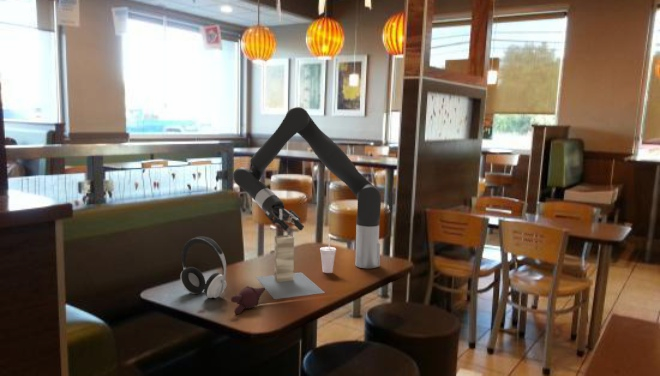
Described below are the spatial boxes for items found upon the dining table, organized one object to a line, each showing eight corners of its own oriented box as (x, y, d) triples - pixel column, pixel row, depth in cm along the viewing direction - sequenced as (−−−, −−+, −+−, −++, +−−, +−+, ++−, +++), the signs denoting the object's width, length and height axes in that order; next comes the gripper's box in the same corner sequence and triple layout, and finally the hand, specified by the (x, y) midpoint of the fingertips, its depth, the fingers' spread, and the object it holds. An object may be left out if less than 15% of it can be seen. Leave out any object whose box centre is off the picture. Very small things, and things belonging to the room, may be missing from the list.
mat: (255, 278, 182) (255, 277, 182) (301, 273, 189) (301, 272, 189) (274, 300, 160) (274, 299, 160) (325, 294, 167) (325, 292, 167)
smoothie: (334, 276, 187) (334, 240, 185) (317, 274, 188) (318, 239, 187) (337, 271, 193) (338, 236, 192) (321, 269, 195) (321, 235, 193)
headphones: (234, 297, 163) (233, 238, 160) (216, 305, 155) (215, 243, 153) (191, 286, 172) (190, 230, 169) (173, 293, 165) (172, 235, 162)
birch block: (274, 278, 181) (274, 236, 179) (289, 276, 183) (290, 234, 181) (277, 282, 177) (277, 238, 175) (293, 280, 179) (293, 237, 177)
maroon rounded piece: (253, 278, 162) (221, 295, 150) (270, 277, 158) (239, 294, 146) (258, 298, 163) (227, 317, 150) (275, 298, 159) (245, 317, 146)
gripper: (260, 193, 181) (287, 220, 173) (286, 195, 193) (311, 220, 185) (251, 209, 183) (277, 237, 175) (277, 210, 195) (302, 236, 187)
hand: (295, 228), depth 180 cm, fingers open, 8 cm apart
